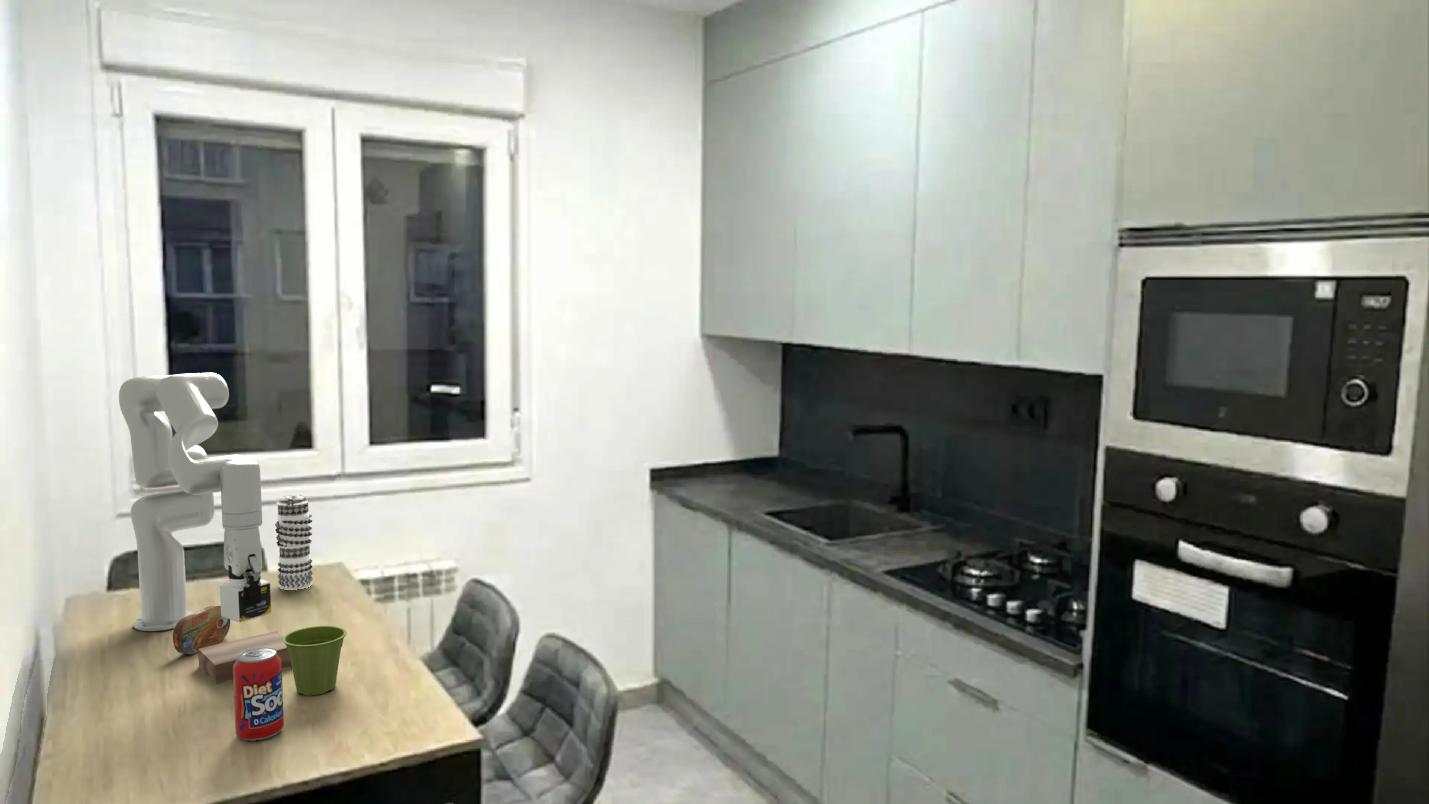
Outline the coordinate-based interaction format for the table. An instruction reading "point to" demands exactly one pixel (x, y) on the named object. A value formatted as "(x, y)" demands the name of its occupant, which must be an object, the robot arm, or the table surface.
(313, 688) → the plant pot
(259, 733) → the soda can
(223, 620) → the tin
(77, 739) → the table surface
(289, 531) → the decorative candle
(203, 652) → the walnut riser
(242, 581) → the medicine bottle
